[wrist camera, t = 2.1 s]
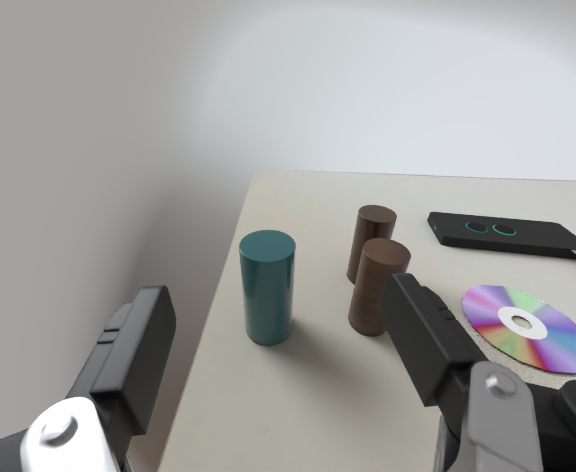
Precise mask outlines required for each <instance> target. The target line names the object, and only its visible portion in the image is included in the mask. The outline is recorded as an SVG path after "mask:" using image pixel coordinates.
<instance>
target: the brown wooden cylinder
mask: <svg viewBox="0 0 576 472" xmlns="http://www.w3.org/2000/svg"><path fill="white" fill-rule="evenodd" d="M410 258H411V254H410V252H409V250H408V249H407V248H406V247H405V246H403V245H402V244H400V243H398V242H396V241H393V240H390V239H384V238H375V239H370V240H368V241H366V242H365V243H364V245H363V249H362V254H361V259H360V263H359V268H358V273H357V277H356V282H355V287H354V291H353V296H352V301H351V306H350V310H349V315H348V319H349V322H350V324H351V326H352V327H353V328H354V329H355V330H356V331H358V332H359V333H361V334H363V335H367V336H379V335H381V334H383V333H384V332H385V331H386V327H385V325H384V323H383V321H382V318H381V315H380V309H379V305H380V300H381V297H382V293H383V290H384V286H385V283H386V279H387V277H388V275H389V274H402V273H406V270H407V267H408V264H409V262H410Z"/></svg>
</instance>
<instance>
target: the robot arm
mask: <svg viewBox="0 0 576 472" xmlns="http://www.w3.org/2000/svg"><path fill="white" fill-rule="evenodd" d="M379 309H380V315H381V318H382V321H383V323H384V325H385V327H386V329H387V331H388V333H389V335H390V337H391V339H392V341H393V343H394V345H395V347H396V349H397V351H398V353H399V355H400V357H401V360H402V362H403V364H404V366H405V368H406V370H407V372H408V374H409V376H410V378H411V380H412V382H413V384H414V386H415V388H416V390H417V392H418V394H419V396H420V398H421V400H422V402H423V404H424V406H425V407H428V406H439V408H440V410H441V412H442V415H441V417H440V422H439V430H438V437H437V445H436V453H435V460H434V468H433V472H576V380H570V381H568V382H566V383H565V384H564V385H563V386H562V387H561V388H560V389H559V390H557V389H553V388H548V387H544V386H539V385H535V384H530V383H526V382H524V381H523V380H522V379H521V378H520V377H519V376H518V375H517V374H516V373H514V372H513V371H511V370H510V369H508V368H507V367H505V366H503V365H501V364H498V363H495V362H491V361H489V360H488V359H487V357H486V356H485V355H484V354H483V352H482V351H481V350H480V348H479V347H478V346H477V345H476V343H475V342H474V341H473V339H472V338H471V337H470V336H469V334H468V333H467V332H466V330H465V329H464V328H463V327H462V325H461V324H460V323H459V321H458V320H456V319H455V316H454V315H453V314H452V312H451V311H450V310H448V307H447V306H446V305H445V303H444V302H443V301H442V300H441V298H440V297H439V296H438V295H437V294H435V293H434V292H433V291H431V290H430V289H429V288H427V287H426V286H421V285H420V284H419V283H418V281H417V280H416V279H415V277H414V276H413V275H412V274H410V273H402V274H389V275H388V277H387V279H386V283H385V286H384V290H383V293H382V297H381V300H380V305H379ZM175 330H176V316H175V312H174V308H173V305H172V302H171V298H170V295H169V291H168V288H167V287H166V286H165V285H164V286H144V287H141V288H140V290H139V291H138V293H137V296H136V297H135V299H134V301H133V303H124V304H123V305H122V306H121V307H120V308H119V309H118V310H117V311H116V312H115V313H114V314H113V315H112V316H111V317H110V319H109V321H108V323H107V325H106V326H105V328H104V332H103V333H102V334H101V335H100V337H99V339H98V341H97V345H95V346H94V348H93V350H92V352H91V353H90V355H89V357H88V359H87V361H86V362H85V364H84V366H83V368H82V370H81V371H80V373H79V375H78V377H77V379H76V380H75V382H74V384H73V386H72V388H71V390H70V391H69V393H68V395H67V396H66V398H65V399H64V400H63V401H61V402H59V403H57V404H55V405H53V406H52V407H50V408H49V409H47V410H46V411H45V412H44V413H42V414H41V415H40V416H39V417H38V418H37V419H36V420H35V421H34V422H33V424H32V425H31V426H30V427H29V428H27V429H25V430H23V431H20V432H18V433H15V434H12V435H10V436H7V437H5V438H2V439H0V472H134V469H133V467H132V464H131V461H130V459H129V456H128V454H127V450H128V447H129V444H130V441H131V437H132V436H135V435H145V434H146V432H147V429H148V425H149V421H150V418H151V415H152V411H153V408H154V404H155V401H156V397H157V394H158V390H159V387H160V383H161V380H162V376H163V373H164V369H165V366H166V362H167V359H168V355H169V352H170V348H171V345H172V341H173V338H174V334H175Z"/></svg>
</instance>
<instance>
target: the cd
mask: <svg viewBox="0 0 576 472" xmlns="http://www.w3.org/2000/svg"><path fill="white" fill-rule="evenodd" d="M462 300H463V311H464V313H465V315H466V316H467V318H468V320H469V321H470V323H471V325H472V326H473V328H475V329H476V330H477V331H478V332H479V333H480V334H481V335H482V336H483V337H484V338H485V339H486V340H488V341H489V342H490V343H491V344H492V345H493V346H495V347H497V348H498V349H500V350H502V351H503V352H505V353H507V354H508V355H510V356H512V357H513V358H515V359H517V360H518V361H521V362H524V363H526V364H529V365H532V366H535V367H538V368H540V369H543V370H546V371H550V372H563V373H576V325H575V324H574V323H573V322H572V321H571V320H570V319H569V318H568V317H567V316H565V315H564V314H562V313H561V312H559V311H558V310H556V309H555V308H553V307H552V306H550V305H549V304H547V303H546V302H543V301H541V300H539V299H537V298H535V297H533V296H531V295H528V294H526V293H524V292H521V291H517V290H514V289H510V288H506V287H503V286H490V285H482V286H478V287H475V288H471V289H469V290H468V292H467V293H466V294H465V295H464V296H463V298H462ZM512 316H520V317H523V318H525V319H526V320H528V321H529V322H530V323H531V325H532V328H531V329H525V328H522V327H520V326H518V325H516V324H515V323H514V322H513V321H512Z"/></svg>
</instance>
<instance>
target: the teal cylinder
mask: <svg viewBox="0 0 576 472" xmlns="http://www.w3.org/2000/svg"><path fill="white" fill-rule="evenodd" d="M295 249H296V245H295V242H294V240H293V239H292V238H291V237H290V236H289V235H287V234H285V233H283V232H280V231H275V230H261V231H256V232H253V233H250V234H248V235H247V236H245V237H244V238H243V239H242V240H241V242H240V244H239V252H240V264H241V276H242V288H243V300H244V311H245V323H246V331H247V334H248V336H249V337H250V338H251V339H252V340H253V341H255V342H256V343H259V344H262V345H274V344H277V343H280V342H282V341H283V340H284V339H286V338H287V336H288V335H289V334H290V331H291V327H292V308H293V288H294V269H295Z"/></svg>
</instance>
